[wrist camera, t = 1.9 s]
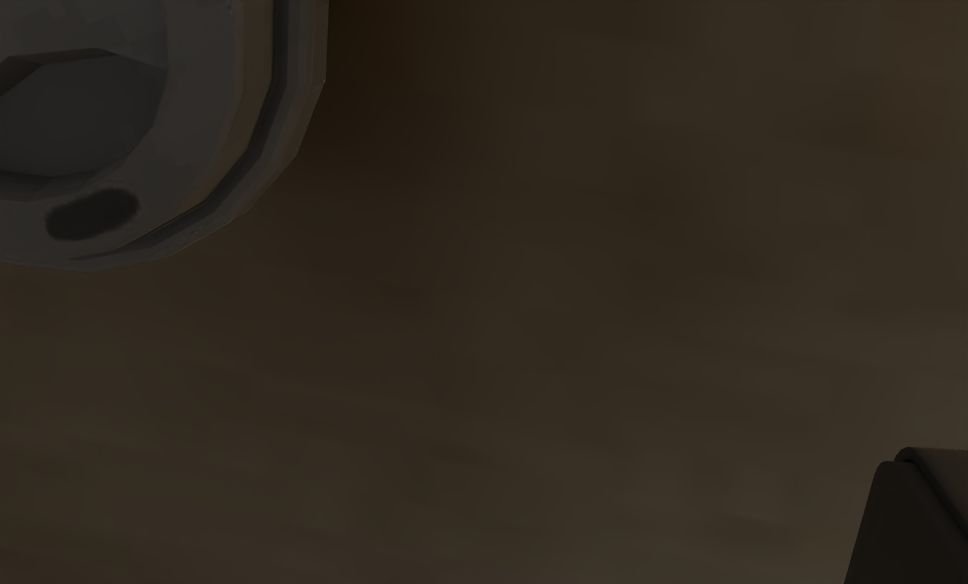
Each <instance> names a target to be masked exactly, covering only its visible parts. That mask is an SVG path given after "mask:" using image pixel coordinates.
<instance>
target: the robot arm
mask: <svg viewBox="0 0 968 584" xmlns="http://www.w3.org/2000/svg"><path fill="white" fill-rule="evenodd" d="M844 584H968V451H965V450H953V449H935V448H917V447H906V448H904V449H901V450H900V452H899V453H898V454H897V455H896V457H895V459H894V462H893V461H885V462H882V463H881V464H880V465H879V466H878V468H877V470H876V472H875V475H874V478H873V482H872V486H871V489H870V493H869V496H868V500H867V503H866V507H865V510H864V514H863V518H862V521H861V525H860V528H859V532H858V535H857V539H856V543H855V546H854V550H853V553H852V557H851V560H850V564H849V567H848V571H847V575H846V578H845V582H844Z"/></svg>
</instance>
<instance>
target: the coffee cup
mask: <svg viewBox="0 0 968 584" xmlns="http://www.w3.org/2000/svg"><path fill="white" fill-rule="evenodd" d="M328 12H329V0H0V261H1V262H3V263H6V264H14V265H23V266H31V267H40V268H49V269H57V270H66V271H74V272H83V273H89V272H95V271H100V270H106V269H111V268H117V267H122V266H128V265H133V264H139V263H144V262H150V261H155V260H161V259H165V258H168V257H170V256H171V255H173V254H175V253H177V252H179V251H180V250H182V249H184V248H186V247H188V246H189V245H191V244H193V243H195V242H197V241H198V240H200V239H202V238H204V237H205V236H207V235H209V234H211V233H213V232H214V231H216V230H218V229H220V228H222V227H223V226H225V225H227V224H229V223H231V222H232V221H234V220H235V219H237V218H239V217H241V216H243V215H244V214H246V213H247V212H248V211H249V210H250V209H251V208H252V207H253V205H254V204H255V203H256V202H257V201H258V200H259V198H260V197H261V196H262V195H263V194H264V193H265V191H266V190H267V189H268V188H269V187H270V186H271V185H272V183H273V182H274V181H275V180H276V179H277V178H278V176H279V175H280V174H281V173H282V172H283V171H284V170H285V168H286V167H287V166H288V165H289V164H290V163H291V161H292V160H293V159H294V158H295V157H296V155H297V153H298V150H299V148H300V145H301V142H302V140H303V137H304V135H305V132H306V129H307V127H308V124H309V122H310V119H311V116H312V114H313V111H314V109H315V106H316V103H317V101H318V98H319V96H320V93H321V90H322V88H323V85H324V83H325V80H326V57H327V35H328Z"/></svg>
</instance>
